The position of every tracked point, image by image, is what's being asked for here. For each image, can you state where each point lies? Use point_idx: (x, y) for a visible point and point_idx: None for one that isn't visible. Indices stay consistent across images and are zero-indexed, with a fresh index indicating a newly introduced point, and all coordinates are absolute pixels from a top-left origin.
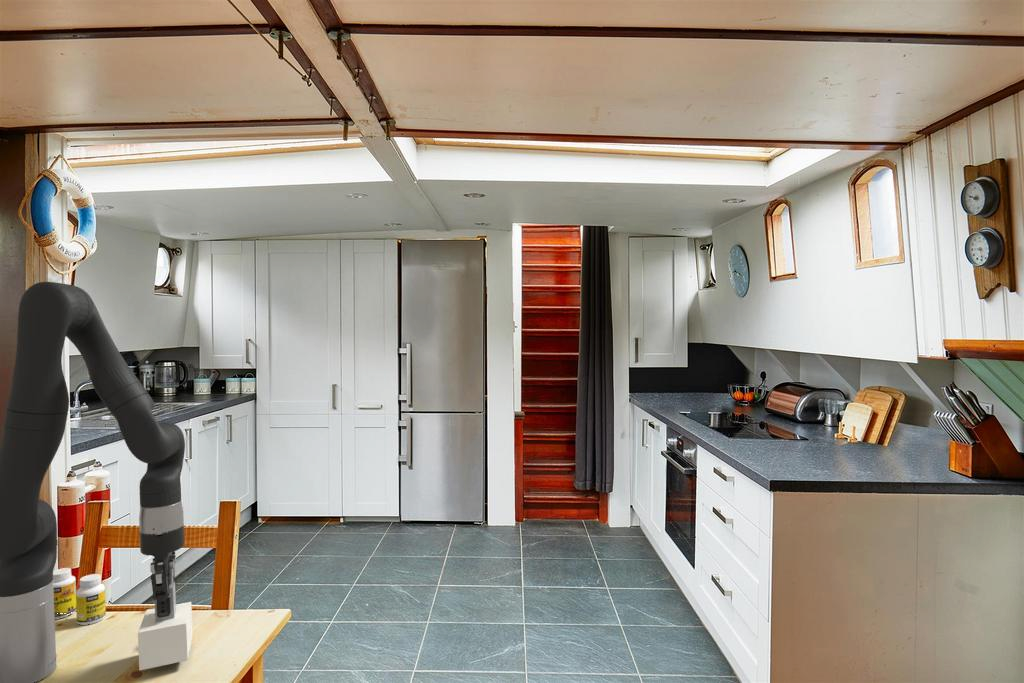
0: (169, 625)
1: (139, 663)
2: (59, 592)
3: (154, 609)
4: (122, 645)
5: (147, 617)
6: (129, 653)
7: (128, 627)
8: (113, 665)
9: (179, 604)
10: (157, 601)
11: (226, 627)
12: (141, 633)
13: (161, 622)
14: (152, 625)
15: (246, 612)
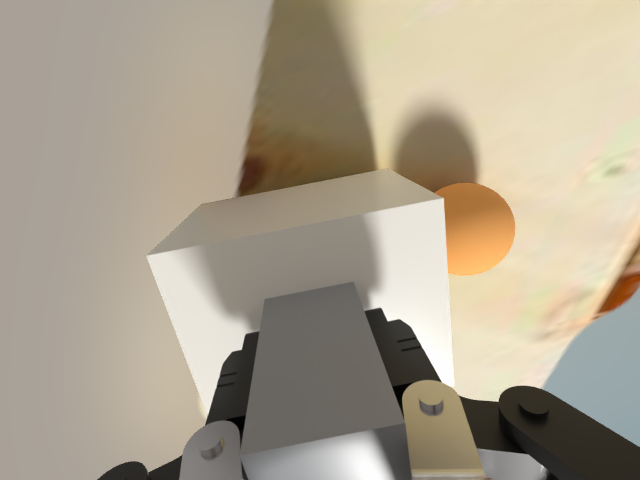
0: (207, 375)
1: (195, 211)
2: None
3: (429, 241)
4: (472, 40)
5: (333, 239)
6: (396, 95)
7: (629, 3)
8: (321, 66)
9: (444, 344)
10: (232, 407)
11: (464, 349)
12: (154, 268)
13: (248, 330)
14: (222, 300)
15: (539, 377)
